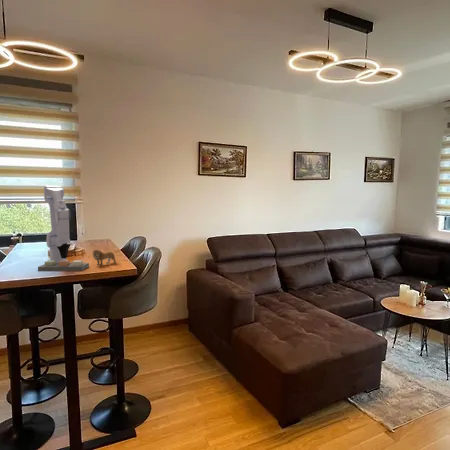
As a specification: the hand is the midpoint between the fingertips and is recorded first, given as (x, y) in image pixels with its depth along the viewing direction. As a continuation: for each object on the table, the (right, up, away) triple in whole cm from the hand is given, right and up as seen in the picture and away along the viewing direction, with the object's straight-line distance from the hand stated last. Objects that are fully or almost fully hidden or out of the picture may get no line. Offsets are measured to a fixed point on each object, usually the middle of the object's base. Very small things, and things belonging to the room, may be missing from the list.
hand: (64, 258), depth 176 cm
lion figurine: (+17, -5, +13) cm, 22 cm away
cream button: (+7, -4, +1) cm, 8 cm away
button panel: (0, -6, 0) cm, 6 cm away
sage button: (-7, -4, 0) cm, 8 cm away
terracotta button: (0, -4, 0) cm, 4 cm away
